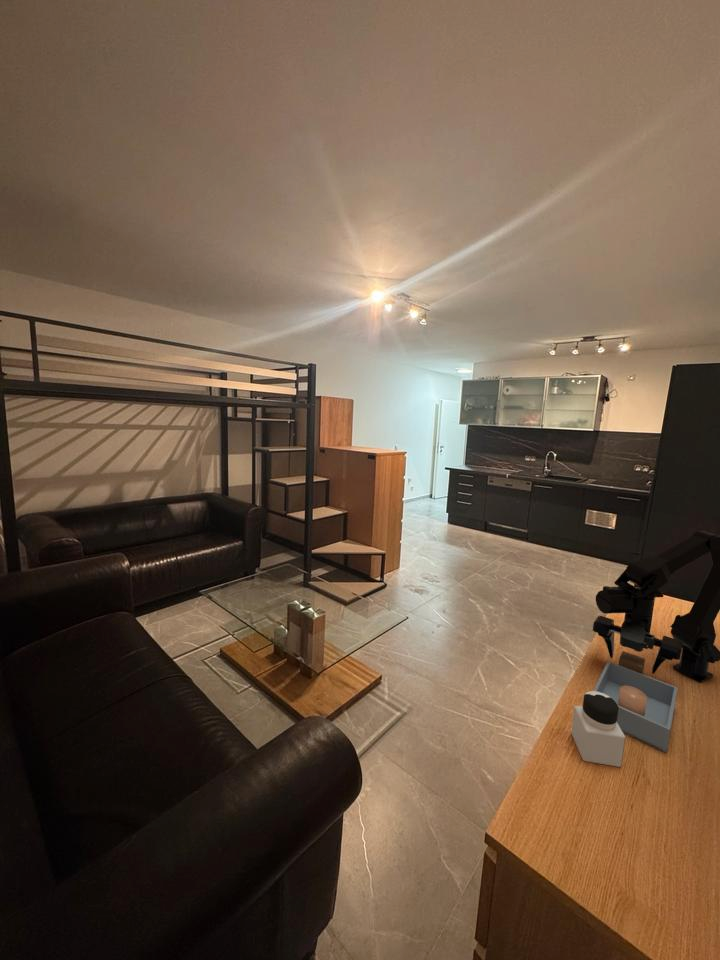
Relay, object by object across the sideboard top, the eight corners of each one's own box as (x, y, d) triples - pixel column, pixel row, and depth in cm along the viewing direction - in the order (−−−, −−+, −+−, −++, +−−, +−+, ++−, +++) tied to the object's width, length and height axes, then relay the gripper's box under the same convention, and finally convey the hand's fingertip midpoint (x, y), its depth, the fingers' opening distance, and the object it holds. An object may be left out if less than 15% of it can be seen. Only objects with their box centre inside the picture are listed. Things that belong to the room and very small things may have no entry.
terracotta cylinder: (614, 709, 89) (618, 682, 88) (640, 717, 87) (644, 689, 86) (618, 724, 85) (622, 696, 83) (645, 732, 82) (649, 704, 81)
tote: (605, 679, 100) (607, 660, 99) (674, 708, 90) (677, 687, 89) (588, 715, 88) (591, 695, 87) (666, 753, 78) (670, 730, 77)
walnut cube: (620, 667, 105) (622, 650, 104) (642, 675, 102) (645, 658, 101) (617, 675, 102) (619, 659, 101) (639, 684, 98) (642, 667, 97)
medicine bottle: (622, 768, 75) (629, 715, 73) (582, 761, 76) (588, 709, 74) (606, 738, 82) (612, 689, 80) (570, 733, 83) (576, 684, 81)
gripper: (590, 609, 99) (584, 663, 102) (682, 638, 87) (673, 698, 89) (600, 595, 107) (594, 645, 110) (686, 619, 94) (677, 675, 97)
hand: (631, 664), depth 101 cm, fingers open, 9 cm apart
